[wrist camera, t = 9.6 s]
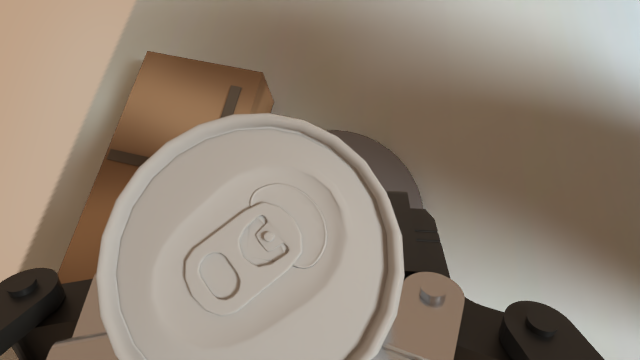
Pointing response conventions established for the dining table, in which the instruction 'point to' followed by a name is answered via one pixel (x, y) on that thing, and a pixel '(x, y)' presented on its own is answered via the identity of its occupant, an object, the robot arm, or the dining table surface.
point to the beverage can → (251, 248)
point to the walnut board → (158, 135)
